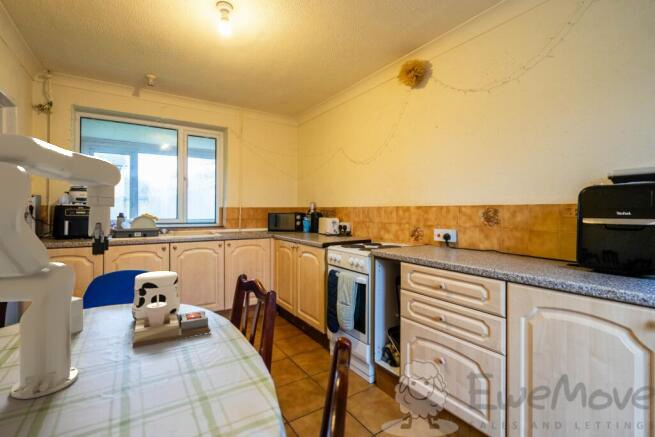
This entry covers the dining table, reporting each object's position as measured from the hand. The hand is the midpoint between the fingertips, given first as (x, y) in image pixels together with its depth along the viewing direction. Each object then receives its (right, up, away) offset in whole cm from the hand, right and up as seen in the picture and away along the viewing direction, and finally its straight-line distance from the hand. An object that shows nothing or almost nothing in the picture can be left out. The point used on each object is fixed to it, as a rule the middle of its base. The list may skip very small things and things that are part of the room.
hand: (100, 252), depth 100 cm
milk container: (+6, -30, +22) cm, 38 cm away
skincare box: (-16, -30, +7) cm, 35 cm away
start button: (+27, -29, +11) cm, 41 cm away
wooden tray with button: (+20, -31, +8) cm, 38 cm away
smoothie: (+16, -29, +5) cm, 34 cm away
